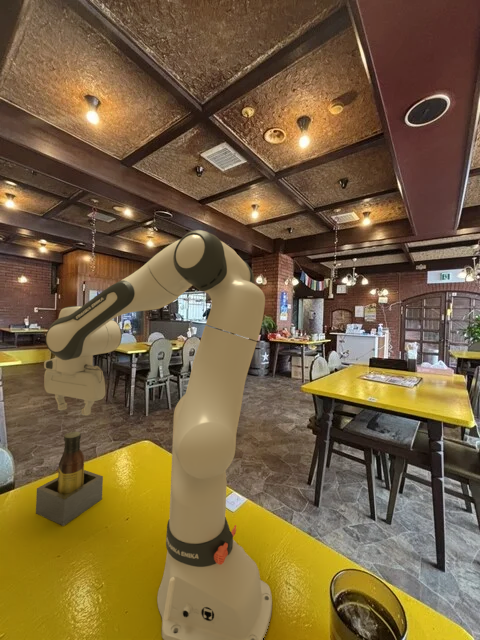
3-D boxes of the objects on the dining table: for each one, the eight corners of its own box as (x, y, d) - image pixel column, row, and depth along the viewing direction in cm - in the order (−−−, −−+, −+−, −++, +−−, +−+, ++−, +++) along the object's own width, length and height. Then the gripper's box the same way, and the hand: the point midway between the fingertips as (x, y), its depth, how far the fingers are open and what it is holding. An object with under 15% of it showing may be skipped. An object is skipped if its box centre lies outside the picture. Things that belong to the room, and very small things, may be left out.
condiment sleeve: (101, 499, 83) (102, 476, 83) (63, 526, 72) (64, 499, 72) (76, 489, 87) (76, 467, 87) (35, 513, 76) (36, 488, 76)
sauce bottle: (66, 495, 83) (70, 428, 83) (87, 497, 82) (90, 429, 83) (50, 510, 76) (54, 437, 76) (73, 512, 76) (77, 439, 76)
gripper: (111, 364, 78) (110, 414, 78) (61, 359, 86) (60, 404, 86) (92, 368, 73) (91, 421, 73) (39, 361, 80) (39, 410, 80)
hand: (74, 412), depth 79 cm, fingers open, 8 cm apart
